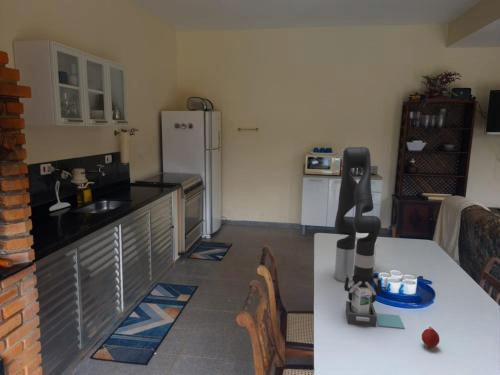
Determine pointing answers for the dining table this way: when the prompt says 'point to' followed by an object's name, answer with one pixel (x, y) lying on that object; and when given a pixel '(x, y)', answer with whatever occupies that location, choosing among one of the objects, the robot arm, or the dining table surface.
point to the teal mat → (389, 321)
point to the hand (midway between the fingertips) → (361, 301)
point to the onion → (430, 337)
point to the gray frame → (360, 316)
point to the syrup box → (361, 301)
